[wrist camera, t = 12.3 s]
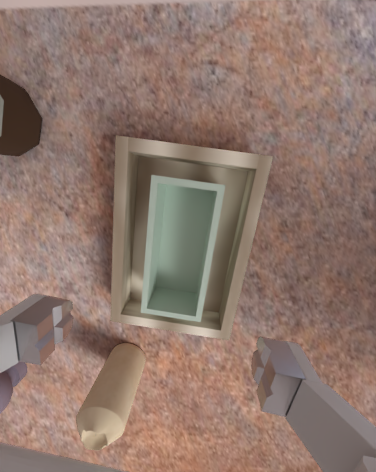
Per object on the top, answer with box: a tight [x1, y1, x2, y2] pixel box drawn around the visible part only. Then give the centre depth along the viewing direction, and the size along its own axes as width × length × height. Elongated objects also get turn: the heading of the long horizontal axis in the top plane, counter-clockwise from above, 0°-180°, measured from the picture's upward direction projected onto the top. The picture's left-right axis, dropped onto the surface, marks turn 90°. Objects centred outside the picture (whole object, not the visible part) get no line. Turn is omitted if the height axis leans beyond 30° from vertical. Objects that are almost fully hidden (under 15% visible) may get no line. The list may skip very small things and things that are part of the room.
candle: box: [76, 343, 146, 450], centre depth 24 cm, size 6×6×10 cm
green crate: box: [141, 175, 225, 322], centre depth 20 cm, size 6×14×5 cm, turn 172°
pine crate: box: [110, 135, 273, 340], centre depth 22 cm, size 14×20×4 cm
